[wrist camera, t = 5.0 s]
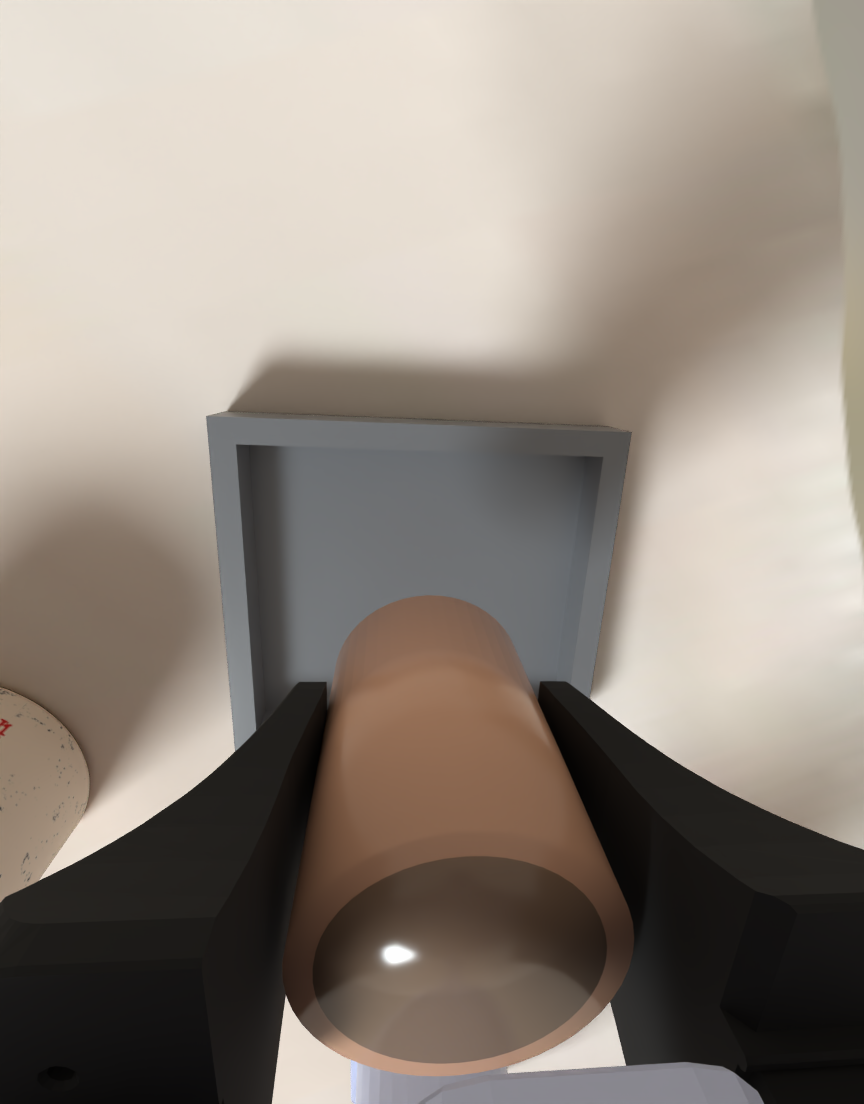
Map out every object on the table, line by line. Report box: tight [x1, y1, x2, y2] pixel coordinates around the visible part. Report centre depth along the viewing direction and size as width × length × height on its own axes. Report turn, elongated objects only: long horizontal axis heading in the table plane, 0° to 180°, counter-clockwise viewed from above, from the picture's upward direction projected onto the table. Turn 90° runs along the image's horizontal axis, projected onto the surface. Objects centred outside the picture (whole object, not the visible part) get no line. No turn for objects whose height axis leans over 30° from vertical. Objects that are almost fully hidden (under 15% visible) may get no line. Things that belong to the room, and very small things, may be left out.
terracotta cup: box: [282, 595, 634, 1076], centre depth 11 cm, size 5×5×7 cm
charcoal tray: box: [206, 411, 632, 751], centre depth 19 cm, size 12×13×2 cm
